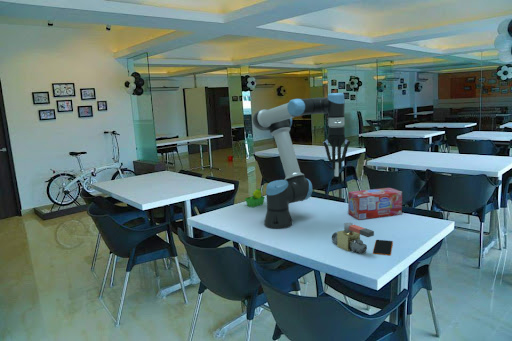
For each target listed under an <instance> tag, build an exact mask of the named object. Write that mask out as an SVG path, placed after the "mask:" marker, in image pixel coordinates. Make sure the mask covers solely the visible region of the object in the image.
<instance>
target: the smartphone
mask: <svg viewBox="0 0 512 341" xmlns="http://www.w3.org/2000/svg"><path fill="white" fill-rule="evenodd" d="M393 243H394V242H393V241H392V240H386V239H376V240H375V242H374V247H373V250H372V254H373V255H380V256H392V250H393V245H394V244H393Z"/></svg>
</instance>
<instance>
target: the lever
mask: <svg viewBox="0 0 512 341" xmlns="http://www.w3.org/2000/svg"><path fill="white" fill-rule="evenodd" d="M343 227H344V228H343V230H344V232H345V233H352V232H353V231H354V232H356V233H359V234H360V236H363V237H366V238H370V237H374V236H375V231H374V230H372V229H370V228H366V227H362V226H360V225H357V224H353V223H352V222H344V224H343Z"/></svg>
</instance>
